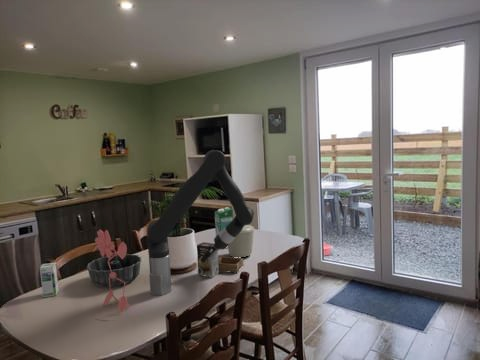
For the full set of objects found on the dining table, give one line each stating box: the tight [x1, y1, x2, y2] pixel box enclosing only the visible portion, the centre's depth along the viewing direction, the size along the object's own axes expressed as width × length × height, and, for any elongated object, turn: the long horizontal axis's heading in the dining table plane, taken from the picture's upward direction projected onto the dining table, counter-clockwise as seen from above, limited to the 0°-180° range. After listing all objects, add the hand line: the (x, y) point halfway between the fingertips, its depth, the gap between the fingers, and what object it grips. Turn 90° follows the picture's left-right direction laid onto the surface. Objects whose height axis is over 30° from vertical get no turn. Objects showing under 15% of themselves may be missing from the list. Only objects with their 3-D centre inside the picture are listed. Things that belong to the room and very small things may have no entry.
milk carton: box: [214, 206, 234, 237], centre depth 234 cm, size 9×9×25 cm
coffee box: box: [196, 241, 220, 278], centre depth 186 cm, size 9×6×16 cm
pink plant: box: [92, 229, 131, 322], centre depth 149 cm, size 15×26×35 cm, turn 51°
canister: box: [227, 224, 255, 258], centre depth 214 cm, size 18×18×21 cm
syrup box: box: [39, 262, 59, 298], centre depth 169 cm, size 6×6×14 cm
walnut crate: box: [218, 256, 244, 273], centre depth 194 cm, size 10×13×4 cm
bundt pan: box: [86, 253, 142, 288], centre depth 184 cm, size 26×26×10 cm
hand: (205, 258), depth 186 cm, fingers closed on coffee box, 7 cm apart
